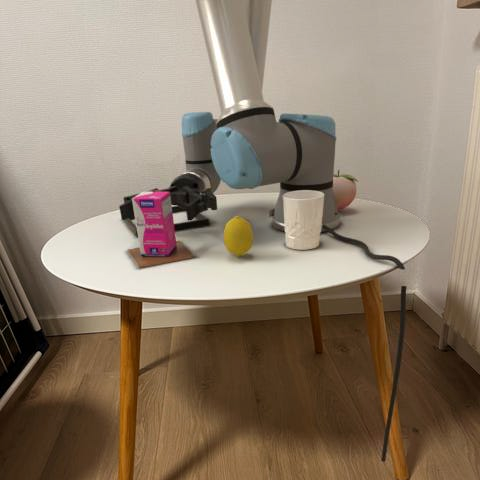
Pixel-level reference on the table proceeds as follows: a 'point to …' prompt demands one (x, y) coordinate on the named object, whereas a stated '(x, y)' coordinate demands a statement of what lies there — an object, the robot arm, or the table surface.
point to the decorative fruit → (344, 190)
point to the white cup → (303, 218)
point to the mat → (147, 261)
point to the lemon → (238, 236)
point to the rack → (178, 226)
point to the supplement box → (154, 223)
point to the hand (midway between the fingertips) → (154, 213)
